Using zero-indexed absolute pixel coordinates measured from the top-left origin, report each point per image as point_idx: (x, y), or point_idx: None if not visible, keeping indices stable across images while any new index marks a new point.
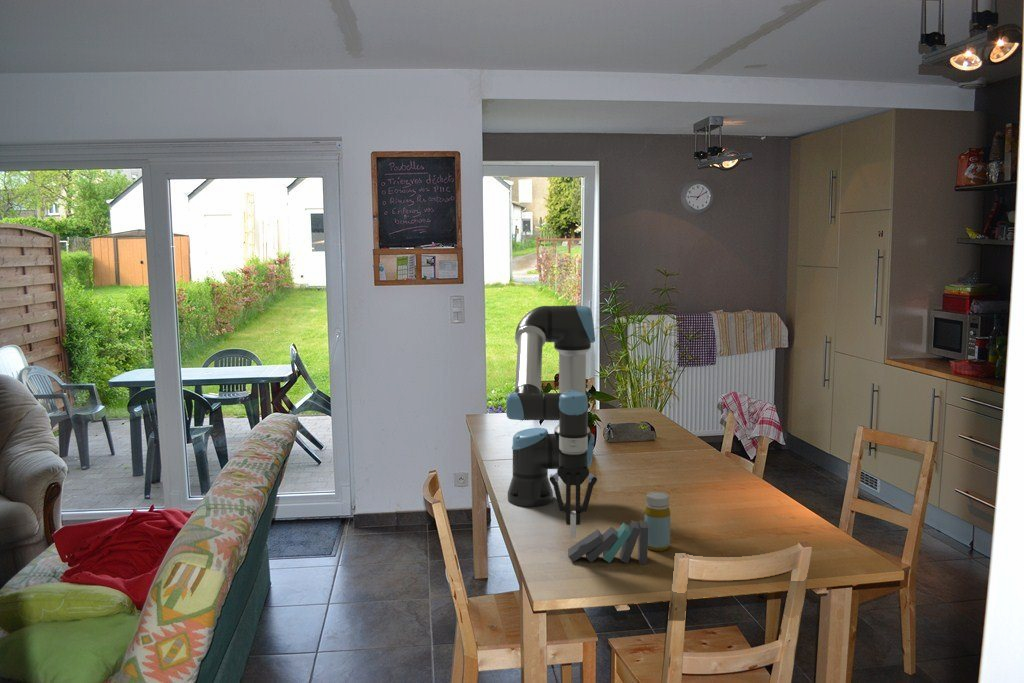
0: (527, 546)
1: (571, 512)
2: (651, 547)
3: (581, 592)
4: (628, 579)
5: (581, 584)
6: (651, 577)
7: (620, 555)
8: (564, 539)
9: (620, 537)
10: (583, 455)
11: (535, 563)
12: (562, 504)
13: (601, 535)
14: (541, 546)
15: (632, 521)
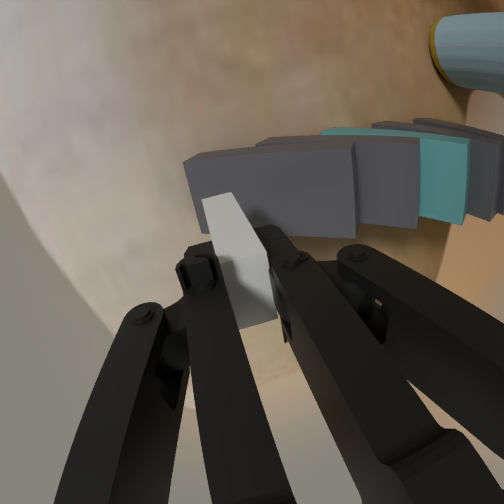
0: (17, 140)
1: (236, 294)
2: (449, 80)
3: (274, 368)
4: None
5: (269, 340)
6: (427, 247)
7: None
8: (136, 14)
9: (427, 216)
10: None
11: (95, 267)
12: (182, 404)
13: (355, 170)
14: (61, 117)
15: (496, 157)
